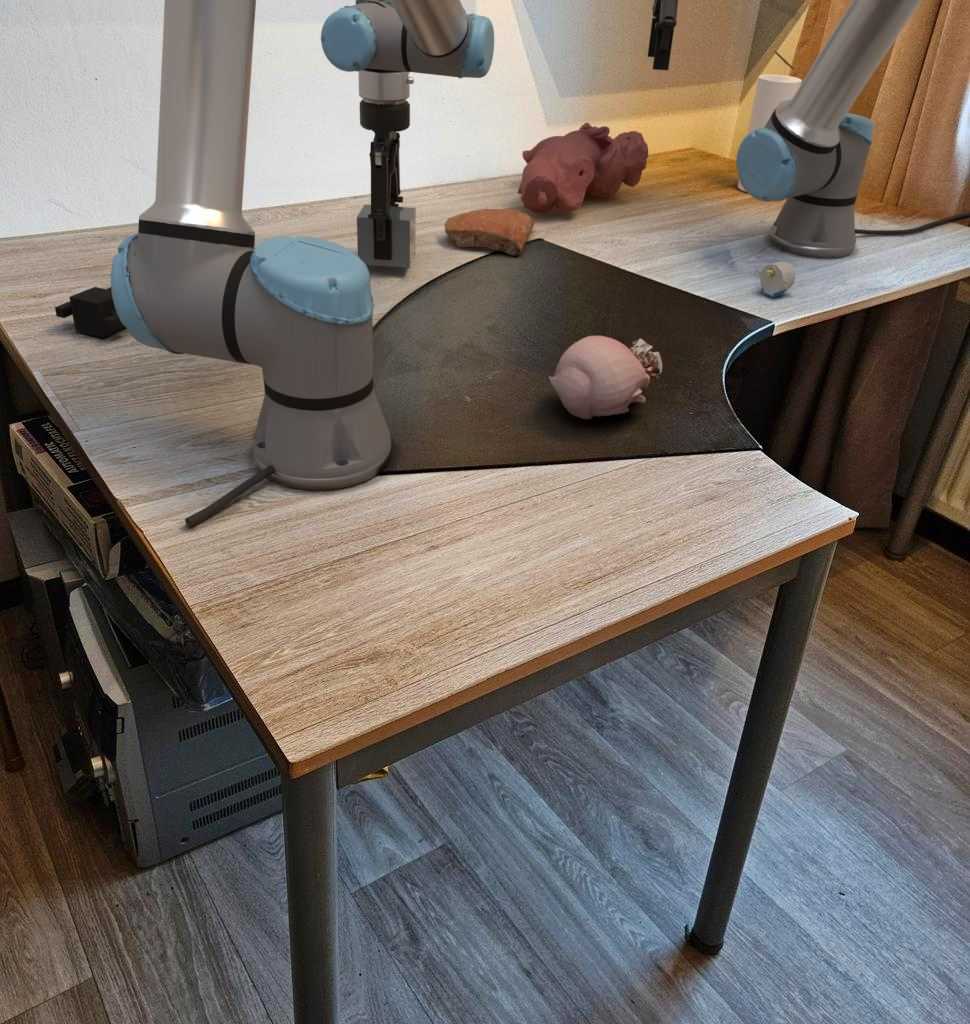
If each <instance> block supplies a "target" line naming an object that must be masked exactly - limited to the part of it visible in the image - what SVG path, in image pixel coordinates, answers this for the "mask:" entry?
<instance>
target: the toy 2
mask: <svg viewBox="0 0 970 1024" xmlns="http://www.w3.org/2000/svg"><path fill="white" fill-rule="evenodd" d="M652 349H653V344H651V343H647V342H646V341H645V340H643V339H642V338H637V339H636V340H635V341H632V344H631V346H630V347H628V346H627V345H625V344H623V343H622V342H620V341H618V340H617V339H615V338H612V337H610V336H609V337H608V336H605V335H588V336H586V337H583V338H581V339H579V340H578V341H576V342H575V343H573V344H571V345H570V346H569V347H568V348H567V349H566V350H565V351H564V353H563V354H562V355H561V357H560V358H559V361H558V364H557V366H556V369H555V371H554V376H550V375H548V379H549V382H550V385H551V386H552V387H553V389H554V390H555V392H556V394H557V396H558V399H559V400H560V402H561V404H562V406H563V407H564V408H565V409H566V410H567V412H568V413H569V414H570V415H572V416H574V417H576V418H579V419H583V420H591V419H593V418H594V417H608V416H614V415H615V416H618V415H620V414H626V413H628V412H629V411H630V408H629V406H630V404H633V403H636V402H638V403H639V404H642V405H643V404H645V403H646V402H647V399H646V397H645V396H644V395H643V393H642V392H643V391H642V390H643V389H644V390H646V389H648V387H649V385H650V382H651V379H654V380H657V379H658V378H659V377H660V376H664V375H666V374H667V373H666V372H662V371H663V361H662V358H661V354H660V352H659V351H653V352H652V351H651V350H652Z"/></svg>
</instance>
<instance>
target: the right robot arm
mask: <svg viewBox="0 0 970 1024" xmlns="http://www.w3.org/2000/svg"><path fill="white" fill-rule="evenodd" d="M922 1H923V0H851V1H850V3H849V4H848V6H847V7H846V10H845V11H844V13H843V14H842V16H841V17H840V19H839V21H838V22H837V24H836V26H835V28H834V29H833V31H832V33H831V34H830V36H829V38H828V39H827V40H826V43H825V44H824V46H823V48H821V50H820V53H819V54H818V55H817V57H816V59H815V60H814V62H813V64H812V65H811V66H810V69H809V70H808V72H807V74H806V76H805V77H804V79H802V82H801V85H800V87H799V88H798V90H797V92H796V93H795V95H794V97H793V98H792V99H790V100H785V101H782V102H780V103H779V104H778V105H777V107H776V108H775V110H774V112H773V113H772V115H771V117H770V118H769V120H768V122H767V123H766V125H765V127H764V128H759V129H755V130H754V131H752V132H751V133H749V134H748V133H747V134H748V135H747V134H746V136H745V137H744V138H743V139H742V141H741V142H740V144H739V146H738V149H737V153H736V162H735V163H736V165H735V167H736V169H737V171H738V173H737V176H738V181H739V180H740V182H741V184H742V186H743V187H744V189H745V190H746V191H747V192H746V191H745V192H746V193H747V194H748V195H749V196H750V197H752V198H753V199H755V200H757V201H759V202H766V203H767V202H781V201H784V200H786V201H785V202H784V204H783V206H782V208H781V209H780V211H779V213H778V215H777V217H776V219H775V221H774V222H773V223H772V225H771V226H770V228H769V230H770V231H769V235H768V240H769V242H770V243H771V244H772V245H773V246H774V247H776V248H778V249H780V250H783V251H786V252H788V253H792V254H795V255H800V256H805V257H811V258H812V257H813V258H822V259H823V258H825V259H826V258H827V259H829V258H831V259H832V258H841V257H846V256H849V255H851V254H852V253H853V252H854V251H855V248H856V243H857V235H870V236H871V235H879V236H880V235H881V236H882V235H883V236H885V235H887V236H890V235H894V236H895V235H897V236H898V235H908V234H915V233H918V232H921V231H924V230H926V229H929V228H932V227H936V226H939V225H943V224H945V223H949V222H951V221H955V220H959V219H962V218H966V217H970V211H966V212H961V213H958V214H955V215H951V216H947V217H945V218H941V219H937V220H935V221H931V222H928V223H925V224H922V225H920V226H917V227H913V228H908V229H892V230H891V229H890V230H889V229H862V228H861V229H860V228H856V219H855V217H856V215H855V205H856V201H857V197H858V194H859V190H860V186H861V183H862V178H863V175H864V171H865V167H866V163H867V160H868V156H869V153H870V149H871V146H872V144H873V135H874V129H875V125H874V122H873V121H872V120H871V119H870V118H868V117H866V116H862V115H859V114H855V113H851V112H849V111H850V110H851V108H852V106H853V104H854V103H855V102H856V100H857V98H858V97H859V95H860V94H861V92H862V91H863V89H864V88H865V87H866V85H867V83H868V82H869V80H870V79H871V77H872V76H873V74H874V73H875V72H876V70H877V69H878V67H879V66H880V64H881V62H882V61H883V60H884V58H885V57H886V55H887V53H888V52H889V50H890V49H891V48H892V46H893V44H894V43H895V41H896V40H897V39H898V37H899V36H900V34H901V33H902V31H903V29H904V28H905V26H906V25H907V23H908V22H909V20H910V19H911V17H912V16H913V14H914V13H915V11H916V10H917V9H918V7H919V5H920V4H921V3H922ZM678 6H679V0H653V6H652V8H651V9H652V18H651V26H650V35H649V41H648V48H647V49H648V50H647V57H648V58H653V63H652V70H653V71H669V68H670V61H671V54H672V47H673V39H674V32H675V27H676V26H677V24H678V22H677V18H678V15H677V14H678Z"/></svg>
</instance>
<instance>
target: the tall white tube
mask: <svg viewBox="0 0 970 1024" xmlns="http://www.w3.org/2000/svg"><path fill="white" fill-rule="evenodd" d="M768 6H770V7H772V8H774V7H777V8H779V7H780V8H779V9H778V10H779V12H782V13H784V14H787V15H790V16H792V19H795V18H796V21H799V19H800V17H799V16H798V15H800V13H799V12H797V14H796V11H795V10H794V9H792V8H789V7H783V4H781V5H780V3H778V2H777V1H776V0H770V2H769V5H768ZM797 16H798V17H797ZM773 53H774V54H776V56H777V57H778V58H779V59H781V61H782V62H783V63H784V64H785V65H786V66H788V68H790V69H791V70H792V71H793V72H794V71H795V68H794V67H793V66H792V65H791V64H790V63H789V62H788V61H787V60H786V59H785V58H784V57H783V56H782V55H780V53H778V52H777V50H775V51H774V52H773ZM802 82H803V79H801V78H799V77H795V76H791V75H783V74H769V73H768V74H767V73H766V74H760V75H758V76H757V82H756V87H755V91H754V97H753V102H752V108H751V113H750V119H749V124H748V128H747V129H748V130H747V134H746V136H747V135H748V134H749V133H751V132H752V131H754V130H755V129H759V128H764V127H765V125H766V123H767V122H768V120H769V118H770V117H771V115H772V113H773V112H774V110H775V108H776V107H777V105H778V104H779V103H780V102H782V101H785V100H790V99H792V98H793V97H794V95H795V93H796V92H797V90H798V88H799V87H800V85H801V83H802ZM737 188H738V189H739V190H741V191H743V192H746V193H747V191H746V190H745V189H744V187H743V186H742V184H741V182H740V180H739V179H738V182H737Z"/></svg>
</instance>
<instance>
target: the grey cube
mask: <svg viewBox="0 0 970 1024" xmlns="http://www.w3.org/2000/svg"><path fill="white" fill-rule="evenodd" d="M378 211H381V210H378ZM416 211H417V209H416V207H408V206H407V207H406V206H399V207H395V206H390V218H391V245H392V259H391V260H380V259H374V232H373V219H368V214H370V213H371V204H363V206H362V207H361V209H360V211H359V213H358V215H356V241H357V242H356V243H357V245H356V247H357V255H358V257H359V258H360V259H361V260H362V261H363V262H364V263H365V265H366V266H376V267H378V266H380V267H394V268H408V269H409V268H411V266H412V263H413V262H414V261H413V260H414V258H415V256H416V245H417V244H416V241H417V239H416V234H417V233H416V231H417V230H416V229H417V228H416V226H417V224H416V223H417V221H416V219H417V214H416V213H417V212H416Z"/></svg>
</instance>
